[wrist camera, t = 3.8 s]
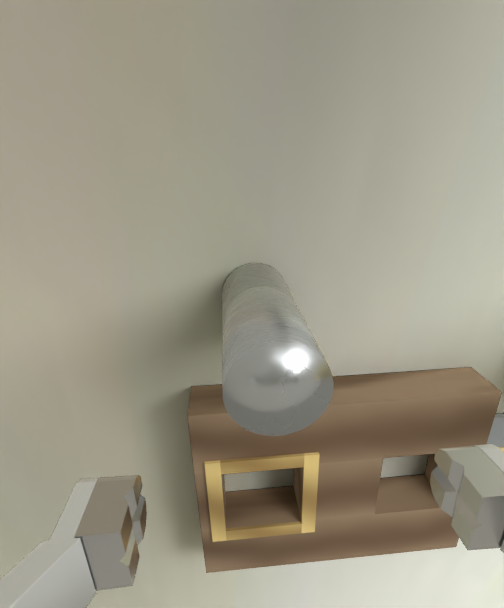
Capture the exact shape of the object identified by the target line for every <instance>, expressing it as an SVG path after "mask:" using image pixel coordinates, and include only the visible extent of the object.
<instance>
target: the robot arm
mask: <svg viewBox="0 0 504 608" xmlns="http://www.w3.org/2000/svg"><path fill="white" fill-rule="evenodd" d="M434 460H435V462H436V463H437V465H438V466H437V467H436V468H435V469H434V470H433V471H432V472H431V478H430V484H431V490H432V493H433V496H434V498H435V500H436V502H437V504H438V505H439V507H440V508H441V510H443V511H444V512H446V513H447V514H449V515H450V516H452V519H451V526H452V527H453V529H454V530H455V532H456V533H457V535H458V536H459V538H460V539H461V541H462V542H463V544H464V545H465V547H466V549H467V550H477V549H490V548H501V549H500V550H501V551H502V552H504V453H503V452H502V451H501V450H500V449H499V448H498V447H497V446H495V445H493V444H486V445H475V446H464V447H454V448H443V449H438V451H437V452H436V453H435V458H434ZM141 489H142V481H141V477H140V476H139V475H132V476H115V477H100V478H88V479H80V480H79V481H78V482H77V483H76V484H75V486H74V488H73V490H72V493H71V495H70V497H69V499H68V501H67V503H66V505H65V508H64V510H63V512H62V514H61V516H60V518H59V520H58V522H57V525H56V527H55V529H54V531H53V533H52V535H51V537H50V540H48V541H42V542H41V543H40V544H39V545H38V546H37V547H36V548H35V549H33V550H32V551H31V552H30V553H29V554H28V555H27V556H26V557H25V558H23V559H22V560H21V561H20V562H19V563H18V564H17V565H16V566H15V567H13V568H12V569H11V570H10V571H9V572H8V573H7V574H6V575H5V576H3V577H2V578H1V579H0V608H86V607H87V605H88V604H89V603H90V601H91V600H92V598H93V597H94V596H95V594H96V591H98V590H105V589H112V588H119V587H127V586H133V583H134V579H135V574H136V570H137V565H138V560H139V552H138V547H137V545H138V544H139V543H140V541H141V540H142V539H143V537H144V532H145V526H146V502H145V498H144V497H143V496H142V495H141Z"/></svg>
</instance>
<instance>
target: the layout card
mask: <svg viewBox="0 0 504 608" xmlns="http://www.w3.org/2000/svg"><path fill="white" fill-rule="evenodd" d="M487 444H493V445H495V446H497V447H498V448H499V449H500V450H501V451H502V452H503V453H504V414H495V417H494V421H493V424H492V427H491V431H490V434H489V438H488V441H487Z"/></svg>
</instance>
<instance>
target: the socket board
mask: <svg viewBox="0 0 504 608" xmlns="http://www.w3.org/2000/svg"><path fill="white" fill-rule="evenodd" d="M501 394H502V392H501V391H499V390H498V389H497V388H496V387H495V386H493V385H492V384H491V383H490V382H489V381H487V380H486V379H485V378H484V377H483V376H481V375H480V374H479V373H478V372H476V371H475V370H474V369H473V368H472V367H464V368H450V369H436V370H421V371H407V372H392V373H378V374H364V375H349V376H335V377H333V394H332V398H331V401H330V403H329V405H328V407H327V408H326V410H325V411H324V413H323V414H322V415H321V416H320V417H319V418H318V419H317V420H316V421H315V422H313V423H312V424H311V425H309V426H307V427H306V428H304V429H302V430H300V431H297V432H294V433H291V434H287V435H280V436H266V435H260V434H256V433H253V432H250V431H248V430H246V429H244V428H243V427H241V426H240V425H238V424H237V423H236V422H235V421H234V420H233V419H232V418H231V417H230V415H229V414H228V412H227V410H226V408H225V405H224V402H223V384H220V385H206V386H191V393H190V400H189V407H188V415H187V417H188V426H189V434H190V442H191V450H192V459H193V467H194V475H195V483H196V492H197V500H198V508H199V516H200V525H201V533H202V541H203V549H204V558H205V566H206V573H209V572H218V571H228V570H238V569H247V568H257V567H267V566H276V565H286V564H296V563H305V562H315V561H325V560H334V559H344V558H354V557H363V556H373V555H383V554H392V553H402V552H412V551H421V550H431V549H441V548H450V547H456V546H457V542H458V539H459V536H458V535H457V533H456V532H455V530H454V529H453V527H452V526H451V519H452V516H450V515H449V514H447V513H446V512H444V511H443V510H441V508H440V507H439V505H438V504H437V502H436V500H435V498H434V496H433V493H432V490H431V484H430V478H431V472H432V471H433V470H434V469H435V468H436V467H437V466H438V465H437V463H436V462H435V460H434V458H435V453H436V452H437V451H438V449H443V448H454V447H464V446H475V445H486V444H487V441H488V438H489V434H490V431H491V427H492V424H493V421H494V417H495V414H496V411H497V407H498V404H499V400H500V397H501ZM424 454H429V457H428V461H427V466H426V471H425V474H422V475H411V476H400V477H389V478H380V476H381V470H382V463H383V458H389V457H400V456H412V455H424ZM289 468H294V483H293V486H288V487H277V488H265V489H254V490H243V491H232V492H225V481H224V474H231V473H242V472H254V471H266V470H277V469H289Z"/></svg>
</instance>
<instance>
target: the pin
mask: <svg viewBox="0 0 504 608" xmlns="http://www.w3.org/2000/svg"><path fill="white" fill-rule="evenodd" d="M222 359H223V402H224V405H225V408H226V410H227V412H228V414H229V415H230V417H231V418H232V419H233V420H234V421H235V422H236V423H237V424H238V425H240V426H241V427H243V428H244V429H246V430H248V431H250V432H253V433H256V434H260V435H266V436H280V435H287V434H291V433H294V432H297V431H300V430H302V429H304V428H306V427H307V426H309V425H311V424H312V423H313V422H315V421H316V420H317V419H318V418H319V417H320V416H321V415H322V414H323V413H324V411H325V410H326V408H327V407H328V405H329V403H330V401H331V398H332V394H333V376H332V373H331V370H330V368H329V366H328V364H327V363H326V361H325V359H324V357H323V355H322V353H321V351H320V349H319V347H318V345H317V343H316V341H315V339H314V338H313V336H312V334H311V332H310V330H309V328H308V326H307V324H306V322H305V320H304V318H303V316H302V314H301V312H300V311H299V309H298V307H297V305H296V303H295V301H294V299H293V297H292V295H291V293H290V291H289V289H288V287H287V285H286V284H285V282H284V280H283V278H282V276H281V275H280V274H279V273H278V271H276V270H275V269H274V268H272V267H271V266H268V265H266V264H262V263H249V264H245V265H242V266H240V267H238V268H236V269H235V270H234V271H233V272H232V273H231V274H230V275H229V276H228V277H227V279H226V281H225V283H224V286H223V291H222Z"/></svg>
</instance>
